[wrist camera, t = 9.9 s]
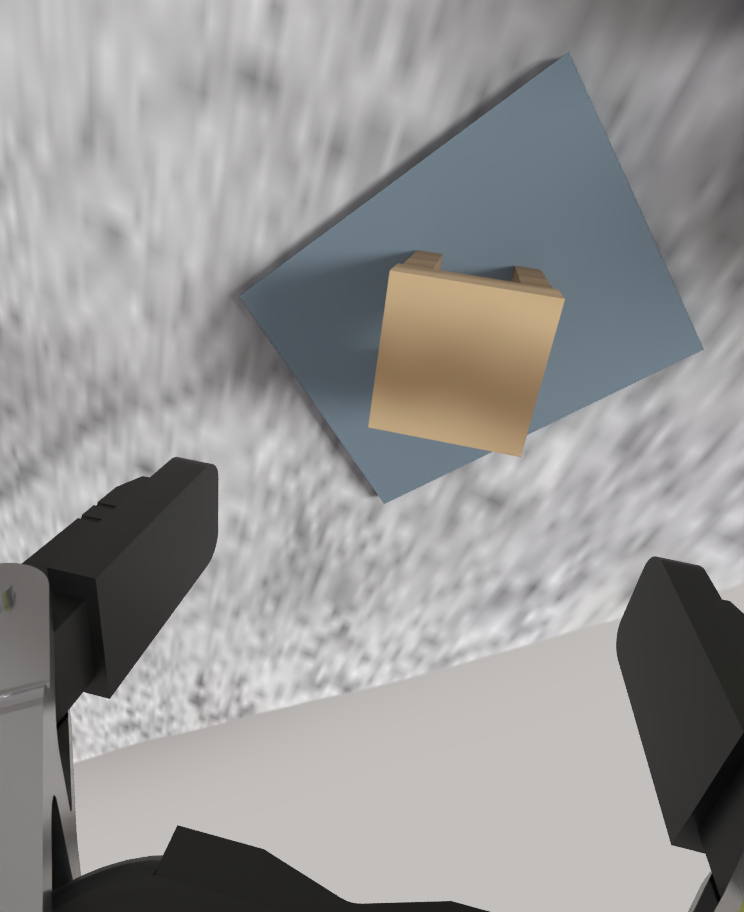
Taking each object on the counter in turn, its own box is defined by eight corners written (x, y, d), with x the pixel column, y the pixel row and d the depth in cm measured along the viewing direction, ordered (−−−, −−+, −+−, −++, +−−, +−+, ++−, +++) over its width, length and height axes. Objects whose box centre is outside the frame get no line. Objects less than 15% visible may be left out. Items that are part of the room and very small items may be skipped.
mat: (386, 495, 34) (384, 503, 33) (246, 293, 30) (238, 296, 29) (696, 344, 27) (703, 349, 26) (565, 56, 23) (568, 51, 22)
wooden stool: (415, 247, 26) (389, 270, 19) (543, 267, 26) (565, 298, 19) (396, 368, 29) (368, 427, 22) (512, 389, 29) (520, 457, 21)
